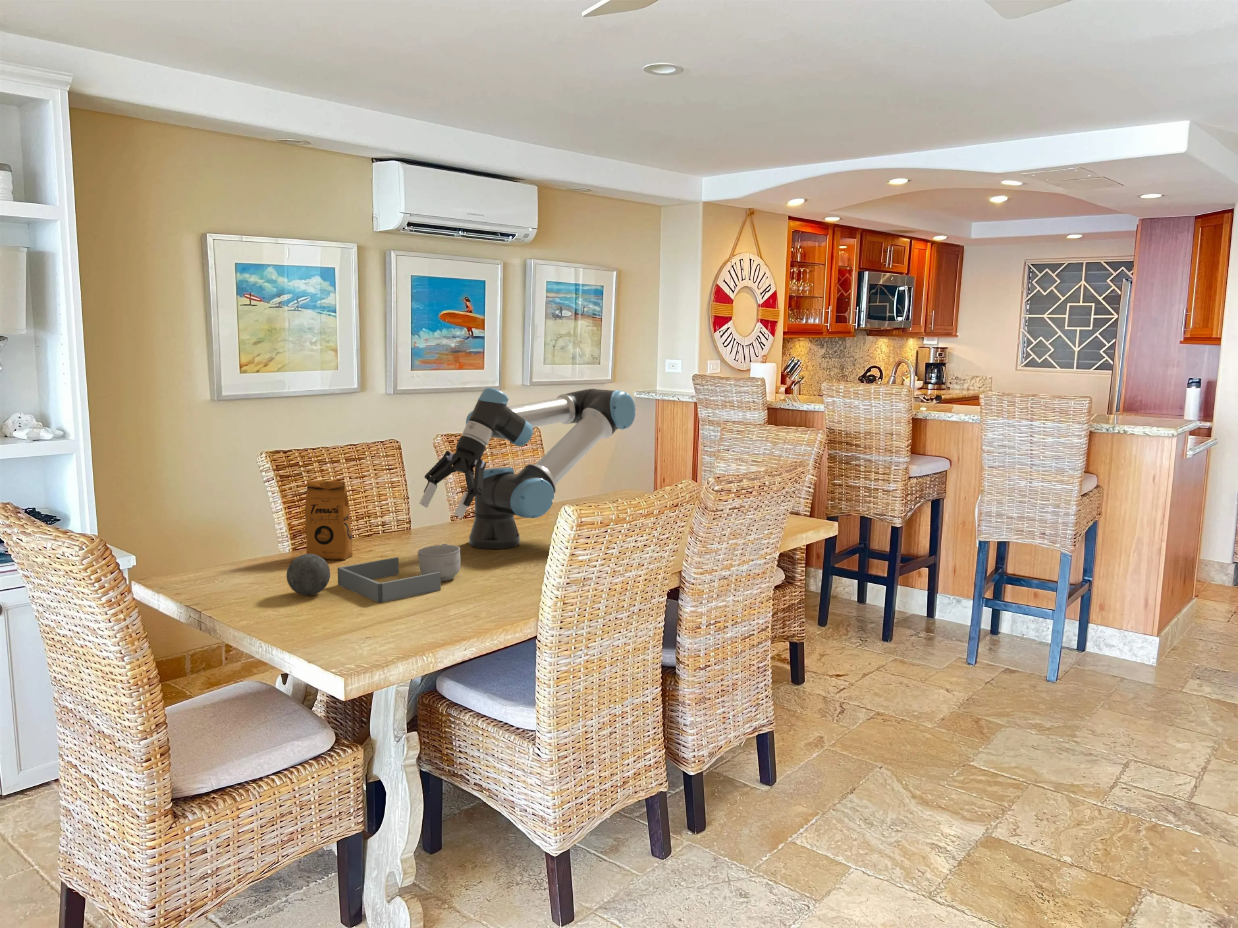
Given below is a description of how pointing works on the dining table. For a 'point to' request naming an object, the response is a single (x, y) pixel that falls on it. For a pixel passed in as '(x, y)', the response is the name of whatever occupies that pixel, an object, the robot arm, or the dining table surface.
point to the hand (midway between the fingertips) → (440, 510)
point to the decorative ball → (308, 574)
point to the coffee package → (328, 520)
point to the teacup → (440, 560)
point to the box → (362, 583)
